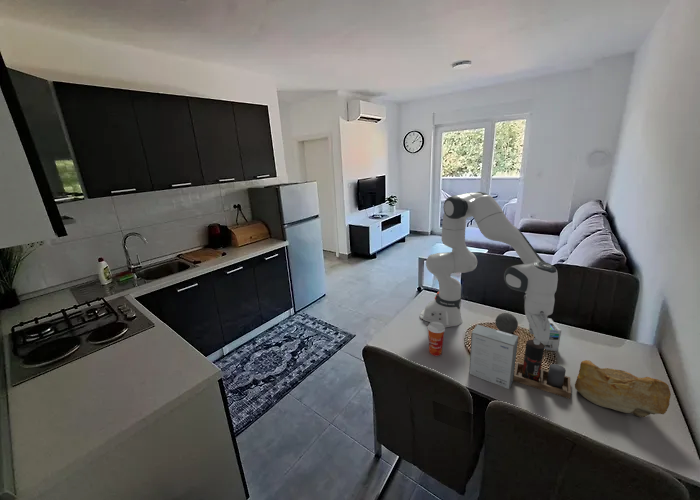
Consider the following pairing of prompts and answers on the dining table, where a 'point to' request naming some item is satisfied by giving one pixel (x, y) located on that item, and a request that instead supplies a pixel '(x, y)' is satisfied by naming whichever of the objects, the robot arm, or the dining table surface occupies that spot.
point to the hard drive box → (493, 355)
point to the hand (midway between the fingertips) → (534, 338)
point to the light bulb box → (553, 337)
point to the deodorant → (532, 360)
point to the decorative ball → (506, 322)
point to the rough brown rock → (622, 390)
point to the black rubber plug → (556, 376)
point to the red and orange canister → (435, 338)
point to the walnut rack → (543, 382)
